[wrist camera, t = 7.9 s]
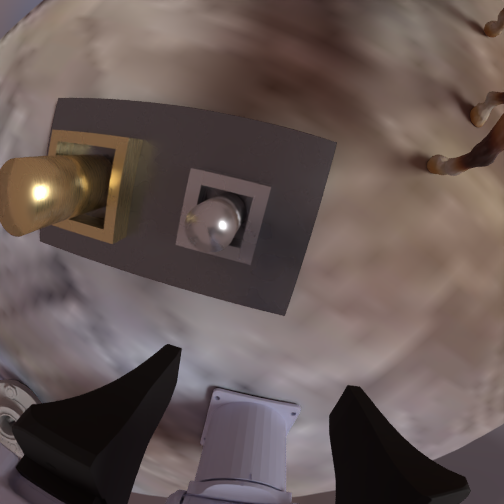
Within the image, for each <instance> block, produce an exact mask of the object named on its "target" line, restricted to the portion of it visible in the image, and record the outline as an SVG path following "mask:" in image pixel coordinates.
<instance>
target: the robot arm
mask: <svg viewBox="0 0 504 504" xmlns="http://www.w3.org/2000/svg"><path fill="white" fill-rule="evenodd" d="M181 351H182V348H179V347H176V346H173V345H170V344H167V345H165V346H164V347H163V348H161V349H160V350H159V351H158V352H157V353H155V354H154V355H153V356H152V357H150V358H149V359H148V360H146V361H145V362H144V363H142V364H141V365H139V366H138V367H137V368H135V369H134V370H132V371H130V372H129V373H127V374H125V375H124V376H122V377H121V378H119V379H117V380H115V381H113V382H111V383H109V384H107V385H105V386H103V387H101V388H98V389H96V390H93V391H91V392H88V393H86V394H83V395H80V396H76V397H72V398H69V399H65V400H61V401H55V402H49V403H41V404H32V405H31V406H30V407H29V408H27V409H26V410H25V411H24V413H23V414H22V415H21V416H20V417H19V419H18V420H17V421H16V422H15V423H14V425H13V426H12V433H13V436H14V438H15V439H16V441H17V443H18V445H19V446H20V448H21V449H22V451H23V453H24V454H25V455H24V456H23V458H22V459H20V458H19V457H18V456H17V455H16V454H15V453H13V452H12V451H11V450H10V449H8V448H7V447H6V446H5V445H3V444H2V443H1V442H0V504H127V503H128V500H129V497H130V494H131V491H132V488H133V485H134V481H135V478H136V476H137V473H138V470H139V467H140V464H141V461H142V459H143V456H144V453H145V451H146V448H147V446H148V443H149V441H150V439H151V437H152V435H153V433H154V431H155V429H156V427H157V426H158V424H159V422H160V420H161V418H162V416H163V414H164V412H165V410H166V408H167V406H168V404H169V402H170V400H171V397H172V395H173V392H174V389H175V386H176V383H177V378H178V371H179V364H180V357H181ZM216 396H218V397H216ZM300 411H301V407H300V406H299V405H297V404H291V403H285V402H279V401H274V400H269V399H264V398H259V397H255V396H250V395H245V394H241V393H237V392H233V391H229V390H225V389H221V388H215V389H214V390H213V394H212V398H211V402H210V406H209V409H208V413H207V417H206V421H205V425H204V429H203V433H202V437H201V441H200V444H201V445H203V450H202V454H201V458H200V462H199V466H198V469H197V473H196V477H195V481H190V482H189V486H188V490H187V491H185V490H177V491H176V492H175V493H173V494H171V495H170V496H169V497H168V499H167V501H166V503H165V504H298V503H292V499H291V498H292V493H291V492H286V436H287V434H288V432H289V431H290V429H291V427H292V425H293V424H294V422H295V420H296V418H297V417H298V415H299V413H300ZM292 412H295V413H292ZM329 435H330V442H331V449H332V456H333V463H334V470H335V478H336V502H335V504H459V503H461V502H462V501H463V500H464V499H466V497H467V496H468V495H469V493H470V491H471V490H470V488H469V485H468V482H467V480H466V478H465V477H464V476H462V475H459V474H457V473H455V472H452V471H450V470H448V469H446V468H444V467H442V466H441V465H439V464H437V463H436V462H434V461H432V460H431V459H429V458H428V457H427V456H425V455H424V454H422V453H421V452H420V451H418V450H417V449H416V448H415V447H413V446H412V445H411V444H410V443H409V442H408V441H407V440H406V439H405V438H404V437H402V436H401V435H400V433H399V432H398V431H397V430H396V429H395V428H394V427H393V426H392V425H391V424H390V423H389V422H388V420H387V419H386V418H385V417H384V416H383V414H382V413H381V412H380V411H379V409H378V408H377V407H376V406H375V404H374V403H373V402H372V401H371V399H370V398H369V397H368V396H367V395H366V393H365V392H364V391H363V390H362V389H361V388H360V387H358V386H350V385H347V387H346V389H345V391H344V392H343V394H342V396H341V397H340V399H339V401H338V402H337V404H336V405H335V407H334V409H333V410H332V412H331V413H330V415H329Z"/></svg>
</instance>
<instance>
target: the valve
mask: <svg viewBox="0 0 504 504" xmlns="http://www.w3.org/2000/svg"><path fill="white" fill-rule="evenodd" d="M32 404H41V402H40V400H39V399H38V397H37V396H36V395H35V394H34V393H33V392H32V391H31V390H30V389H29V388H28V387H27V386H25V385H24V384H22V383H19V382H18V381H16V380H0V442H1V443H2V444H3V445H5V446H6V447H7V448H9V449H10V450H11V451H12V452H15V453H16V452H18V451H19V452H23V451H22V449H21V448H20V446H19V445H18V443H17V441H16V439H15V438H14V436H13V433H12V426H13V425H14V423H15V422H16V421H17V420H18V419H19V417H20V416H21V415H22V414H23V413H24V411H25V410H26V409H27V408H29V407H30V406H31V405H32Z"/></svg>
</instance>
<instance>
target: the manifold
mask: <svg viewBox="0 0 504 504" xmlns="http://www.w3.org/2000/svg"><path fill="white" fill-rule="evenodd" d="M336 144H337V142H333V141H330V140H327V139H324V138H321V137H317V136H314V135H311V134H307V133H304V132H300V131H297V130H293V129H289V128H286V127H282V126H278V125H274V124H270V123H266V122H262V121H257V120H253V119H248V118H244V117H239V116H234V115H229V114H224V113H219V112H214V111H208V110H202V109H196V108H189V107H183V106H176V105H168V104H160V103H151V102H141V101H130V100H116V99H96V98H58V102H57V106H56V110H55V114H54V119H53V123H52V128H51V133H50V139H49V144H48V151H47V156H56V155H92V154H96V155H101V156H104V157H105V158H107V159H108V160H109V161H110V162H111V164H112V165H113V166H112V172H111V178H110V184H109V191H108V198H107V205H106V206H104V207H103V208H100V209H97V210H94V211H91V212H88V213H85V214H82V215H78V216H75V217H72V218H69V219H67V220H64V221H61V222H58V223H55V224H52V225H49V226H47V227H44V228H41V229H40V241H41V242H44V243H46V244H49V245H52V246H54V247H57V248H60V249H63V250H65V251H68V252H71V253H74V254H76V255H79V256H82V257H85V258H88V259H91V260H94V261H97V262H100V263H102V264H105V265H108V266H111V267H114V268H117V269H120V270H124V271H127V272H130V273H133V274H136V275H139V276H142V277H145V278H149V279H152V280H155V281H158V282H162V283H165V284H168V285H172V286H175V287H178V288H182V289H185V290H189V291H192V292H196V293H199V294H203V295H206V296H210V297H213V298H217V299H221V300H224V301H228V302H232V303H236V304H239V305H243V306H247V307H251V308H255V309H259V310H263V311H267V312H271V313H275V314H279V315H283V316H285V314H286V311H287V308H288V305H289V302H290V299H291V296H292V293H293V290H294V287H295V284H296V281H297V278H298V275H299V272H300V269H301V265H302V262H303V259H304V256H305V253H306V250H307V246H308V243H309V240H310V237H311V233H312V230H313V227H314V223H315V220H316V217H317V213H318V210H319V206H320V203H321V199H322V196H323V192H324V189H325V185H326V182H327V178H328V174H329V171H330V167H331V163H332V160H333V156H334V152H335V148H336Z"/></svg>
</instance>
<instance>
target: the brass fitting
mask: <svg viewBox="0 0 504 504" xmlns="http://www.w3.org/2000/svg"><path fill="white" fill-rule="evenodd" d="M112 166H113V165H112V164H111V162H110V161H109V160H108V159H107V158H105V157H104V156H101V155H96V154H92V155H56V156H38V157H24V158H13V159H10V160H8V161H7V162H6V163H5V164H4V165H3V166H2V167H1V169H0V222H1V224H2V226H3V227H4V229H5V230H6V231H7V232H8V233H9V234H11V235H13V236H23V235H25V234H28V233H30V232H33V231H36V230H38V229H41V228H44V227H47V226H49V225H52V224H55V223H58V222H61V221H64V220H67V219H69V218H72V217H75V216H78V215H82V214H85V213H88V212H91V211H94V210H97V209H100V208H103V207H104V206H106V205H107V198H108V191H109V184H110V178H111V172H112Z"/></svg>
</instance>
